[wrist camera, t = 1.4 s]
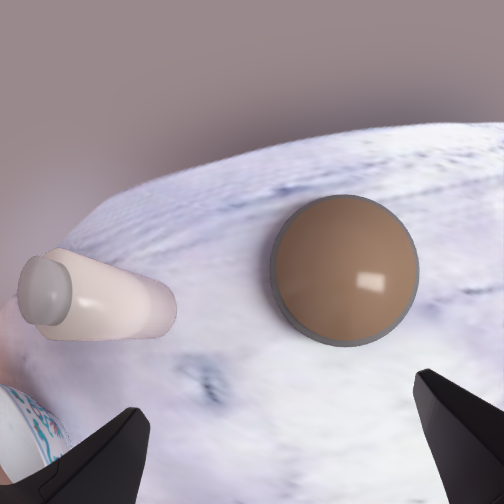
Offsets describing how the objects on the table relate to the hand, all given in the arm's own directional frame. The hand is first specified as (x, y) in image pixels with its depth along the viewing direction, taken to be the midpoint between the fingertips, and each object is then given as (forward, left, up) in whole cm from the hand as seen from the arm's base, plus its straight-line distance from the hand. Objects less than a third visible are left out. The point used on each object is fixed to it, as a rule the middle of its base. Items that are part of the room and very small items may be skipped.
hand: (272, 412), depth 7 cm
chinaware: (-29, +12, -14) cm, 34 cm away
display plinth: (+8, +1, -14) cm, 16 cm away
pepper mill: (-5, +12, -14) cm, 19 cm away
